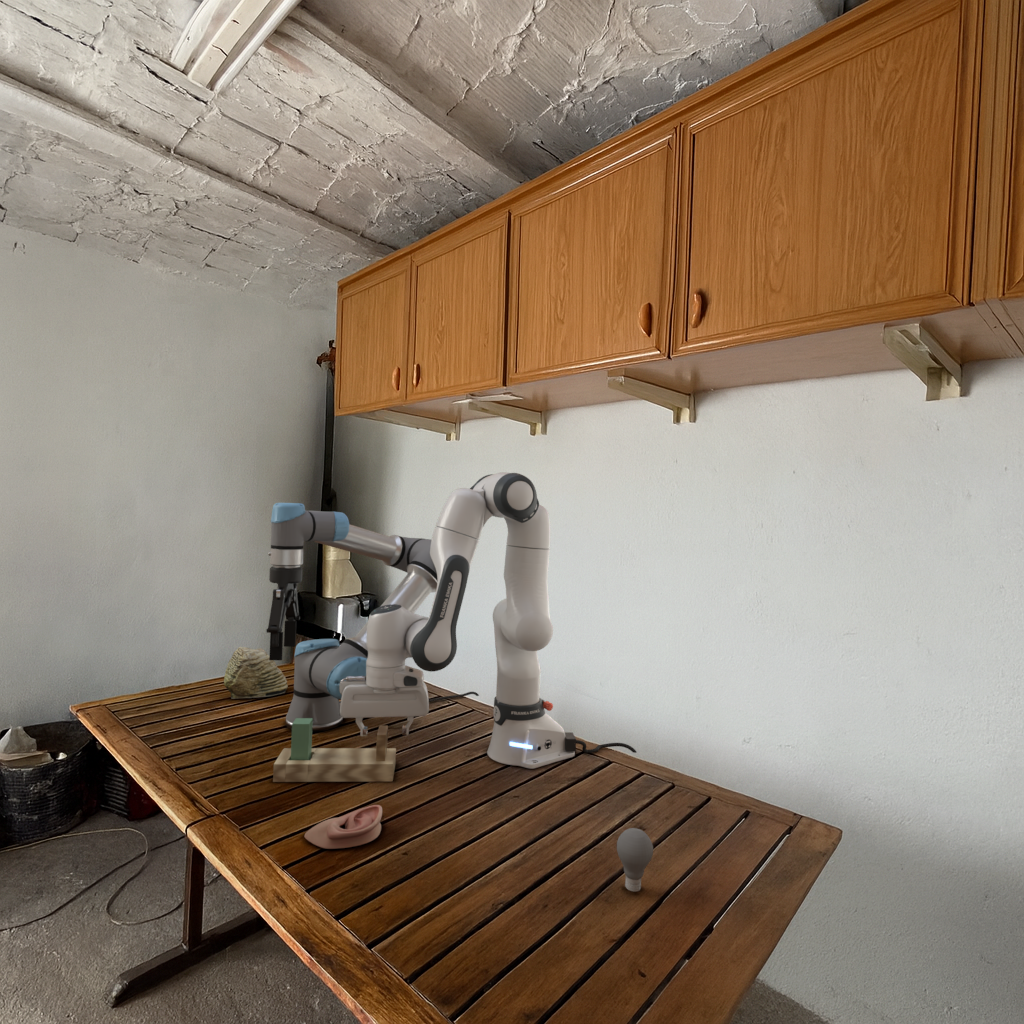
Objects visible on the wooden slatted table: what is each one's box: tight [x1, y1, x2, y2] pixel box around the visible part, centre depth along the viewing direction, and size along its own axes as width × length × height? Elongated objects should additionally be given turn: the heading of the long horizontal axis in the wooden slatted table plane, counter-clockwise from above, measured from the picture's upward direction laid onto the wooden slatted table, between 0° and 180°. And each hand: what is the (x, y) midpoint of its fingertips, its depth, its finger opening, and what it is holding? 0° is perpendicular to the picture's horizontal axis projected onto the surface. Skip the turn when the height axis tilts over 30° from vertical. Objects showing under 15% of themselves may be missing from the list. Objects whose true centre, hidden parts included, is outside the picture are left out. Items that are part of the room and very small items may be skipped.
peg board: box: [272, 725, 397, 783], centre depth 145 cm, size 26×9×10 cm, turn 96°
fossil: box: [223, 646, 289, 700], centre depth 198 cm, size 9×18×15 cm, turn 132°
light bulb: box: [616, 827, 654, 893], centre depth 106 cm, size 6×6×10 cm
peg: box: [290, 718, 313, 760], centre depth 144 cm, size 4×4×12 cm
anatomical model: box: [303, 804, 383, 850], centre depth 119 cm, size 13×4×12 cm
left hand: (283, 652), depth 154 cm, fingers open, 13 cm apart
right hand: (384, 734), depth 147 cm, fingers open, 8 cm apart
